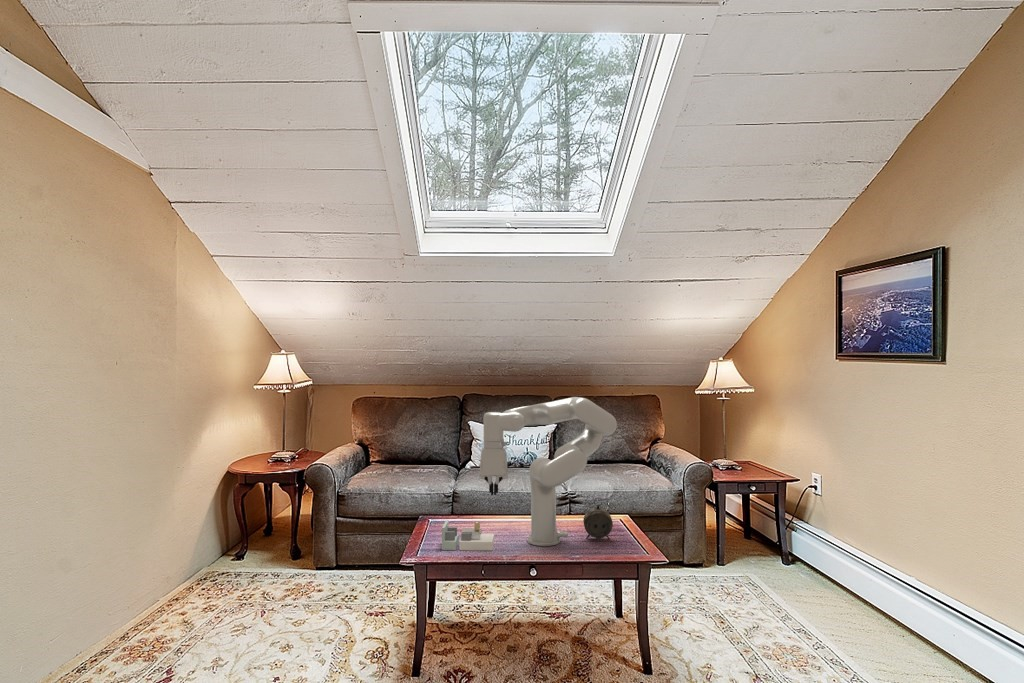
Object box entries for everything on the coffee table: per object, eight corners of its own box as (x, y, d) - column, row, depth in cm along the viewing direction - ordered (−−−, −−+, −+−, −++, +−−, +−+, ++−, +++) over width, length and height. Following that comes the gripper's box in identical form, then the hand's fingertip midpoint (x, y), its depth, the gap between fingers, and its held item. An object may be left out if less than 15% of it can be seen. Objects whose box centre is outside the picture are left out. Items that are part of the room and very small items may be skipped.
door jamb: (459, 541, 214) (458, 520, 215) (455, 550, 204) (455, 528, 205) (446, 541, 215) (446, 520, 215) (441, 550, 205) (441, 527, 205)
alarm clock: (611, 538, 218) (611, 496, 218) (613, 542, 212) (612, 499, 213) (583, 537, 218) (583, 495, 219) (584, 542, 213) (584, 499, 214)
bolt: (481, 535, 211) (481, 520, 211) (480, 538, 207) (480, 523, 207) (462, 535, 211) (462, 520, 212) (461, 538, 207) (461, 523, 208)
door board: (494, 541, 214) (494, 527, 214) (492, 550, 204) (492, 535, 204) (462, 541, 214) (462, 527, 215) (459, 550, 204) (459, 534, 205)
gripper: (513, 443, 214) (514, 492, 213) (474, 443, 215) (474, 492, 214) (513, 446, 207) (513, 496, 206) (472, 446, 207) (472, 496, 206)
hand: (493, 494), depth 210 cm, fingers closed
